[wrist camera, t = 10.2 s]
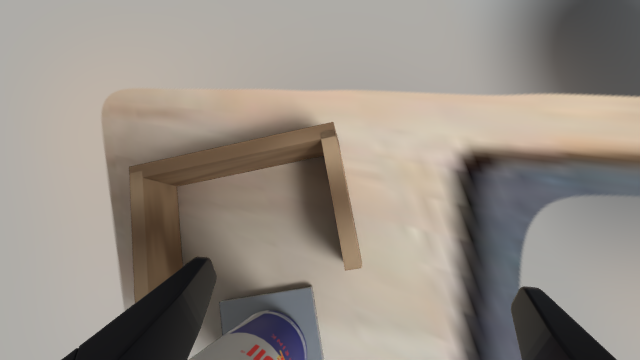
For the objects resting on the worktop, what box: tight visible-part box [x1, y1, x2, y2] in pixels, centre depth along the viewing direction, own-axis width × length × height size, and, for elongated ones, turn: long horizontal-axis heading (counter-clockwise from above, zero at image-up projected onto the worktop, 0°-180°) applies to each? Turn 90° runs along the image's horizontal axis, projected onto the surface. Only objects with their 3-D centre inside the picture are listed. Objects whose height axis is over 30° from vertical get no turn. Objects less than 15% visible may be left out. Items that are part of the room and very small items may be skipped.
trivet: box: [219, 286, 324, 360], centre depth 22 cm, size 7×7×1 cm
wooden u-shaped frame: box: [129, 122, 362, 303], centre depth 22 cm, size 10×15×4 cm, turn 100°
